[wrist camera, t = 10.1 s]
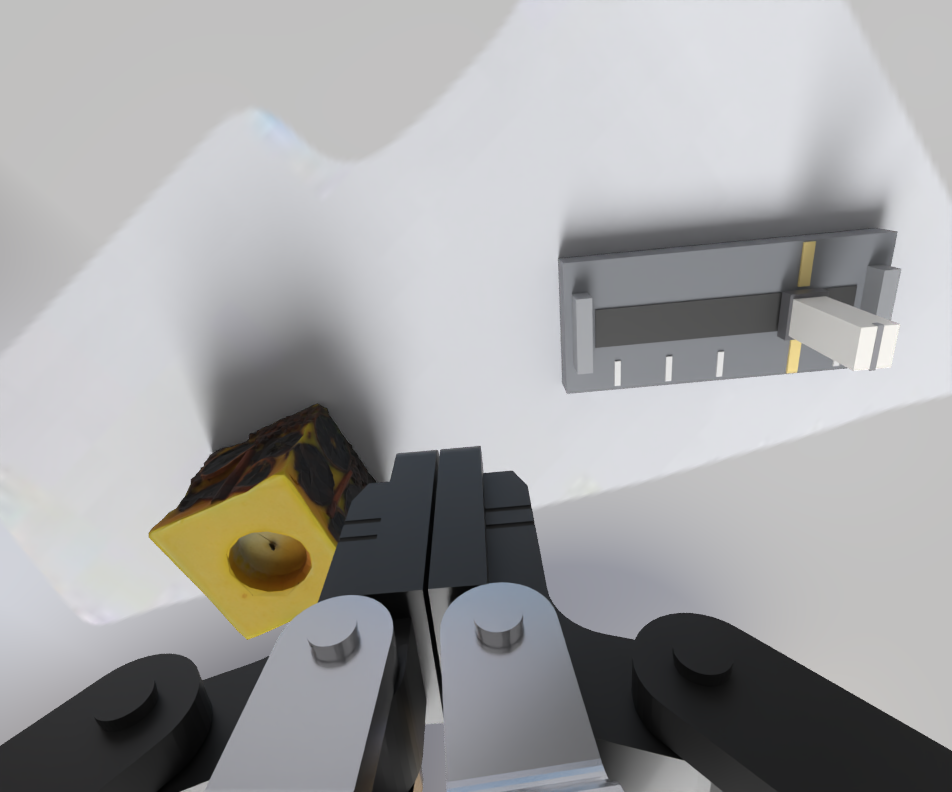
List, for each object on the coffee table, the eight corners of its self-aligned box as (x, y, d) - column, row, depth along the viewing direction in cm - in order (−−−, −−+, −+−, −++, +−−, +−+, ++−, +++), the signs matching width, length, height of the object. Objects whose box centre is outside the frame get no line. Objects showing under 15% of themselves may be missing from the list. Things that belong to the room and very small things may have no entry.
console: (558, 258, 37) (567, 268, 34) (875, 228, 37) (916, 234, 33) (562, 383, 41) (570, 403, 37) (852, 356, 40) (887, 374, 37)
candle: (209, 452, 42) (138, 533, 33) (321, 397, 41) (280, 465, 32) (285, 548, 46) (241, 645, 37) (391, 501, 44) (372, 590, 35)
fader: (782, 291, 36) (859, 322, 29) (820, 287, 36) (906, 318, 29) (776, 336, 37) (849, 376, 30) (813, 332, 37) (894, 372, 30)
